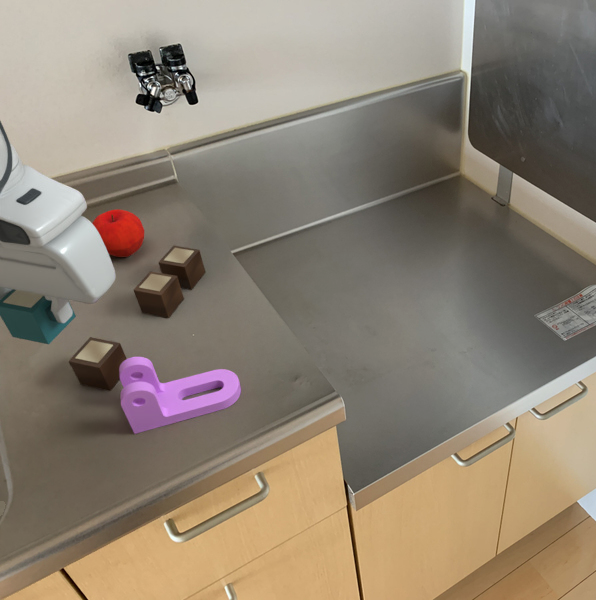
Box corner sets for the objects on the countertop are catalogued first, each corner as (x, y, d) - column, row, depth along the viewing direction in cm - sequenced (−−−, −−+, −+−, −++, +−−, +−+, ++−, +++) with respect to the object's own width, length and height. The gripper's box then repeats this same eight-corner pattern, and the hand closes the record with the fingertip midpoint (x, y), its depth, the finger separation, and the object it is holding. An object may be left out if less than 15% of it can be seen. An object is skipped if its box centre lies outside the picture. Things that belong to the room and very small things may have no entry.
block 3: (168, 318, 87) (160, 294, 84) (141, 313, 88) (132, 289, 85) (184, 298, 91) (177, 275, 88) (158, 293, 91) (149, 270, 88)
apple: (94, 270, 96) (78, 231, 91) (102, 241, 101) (87, 203, 97) (147, 264, 97) (134, 225, 92) (152, 235, 103) (140, 198, 98)
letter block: (49, 344, 62) (31, 312, 59) (12, 337, 63) (-7, 304, 60) (76, 316, 66) (61, 284, 63) (41, 309, 66) (24, 277, 63)
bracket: (134, 434, 72) (116, 395, 68) (132, 399, 76) (115, 361, 72) (244, 403, 76) (234, 365, 71) (237, 371, 80) (227, 333, 75)
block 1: (110, 391, 77) (98, 367, 74) (80, 384, 78) (67, 360, 75) (130, 366, 80) (120, 342, 77) (101, 360, 81) (89, 336, 78)
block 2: (191, 290, 92) (184, 266, 89) (165, 285, 93) (157, 261, 90) (205, 272, 95) (199, 249, 92) (180, 267, 96) (173, 244, 93)
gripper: (-148, 201, 54) (-69, 316, 63) (52, 235, 50) (105, 352, 59) (-89, 167, 58) (-23, 278, 67) (99, 195, 54) (142, 310, 64)
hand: (39, 313), depth 63 cm, fingers closed on letter block, 4 cm apart
